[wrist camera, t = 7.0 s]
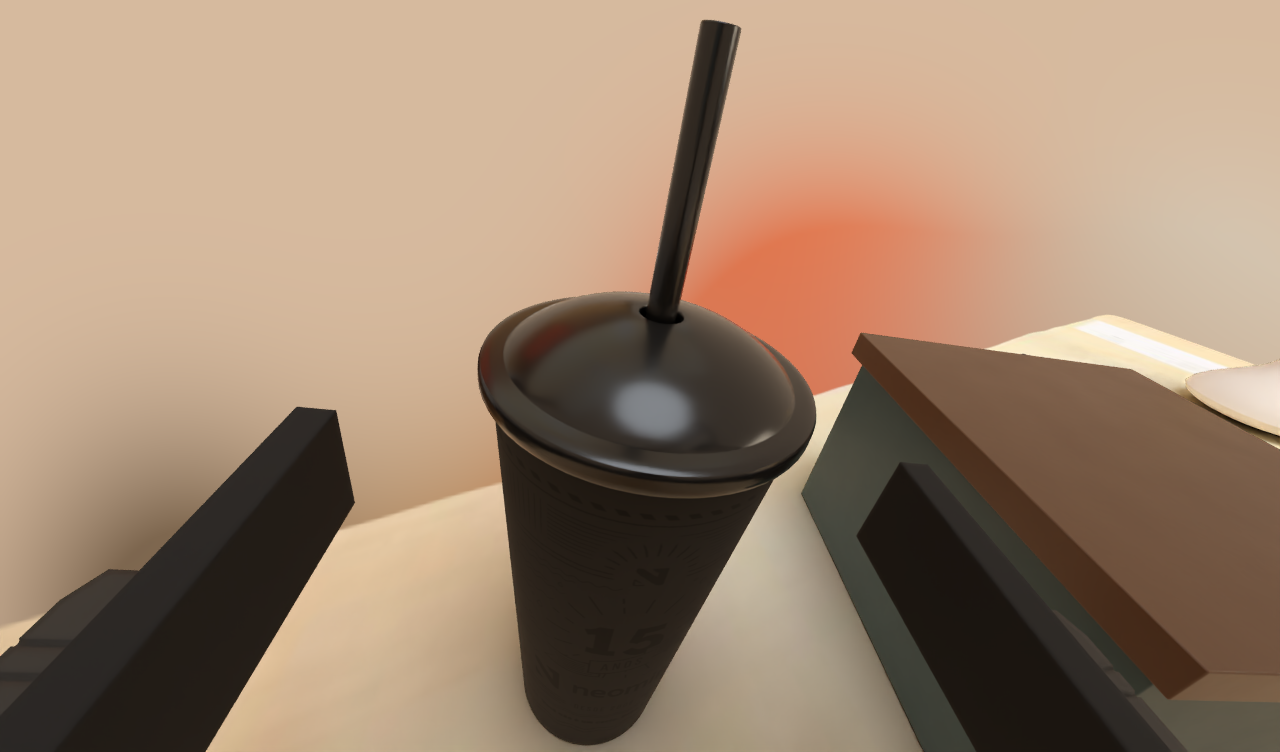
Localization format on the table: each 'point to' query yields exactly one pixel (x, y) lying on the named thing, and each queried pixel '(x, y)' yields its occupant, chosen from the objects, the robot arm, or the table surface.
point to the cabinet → (1076, 524)
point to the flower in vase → (1242, 394)
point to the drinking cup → (633, 454)
